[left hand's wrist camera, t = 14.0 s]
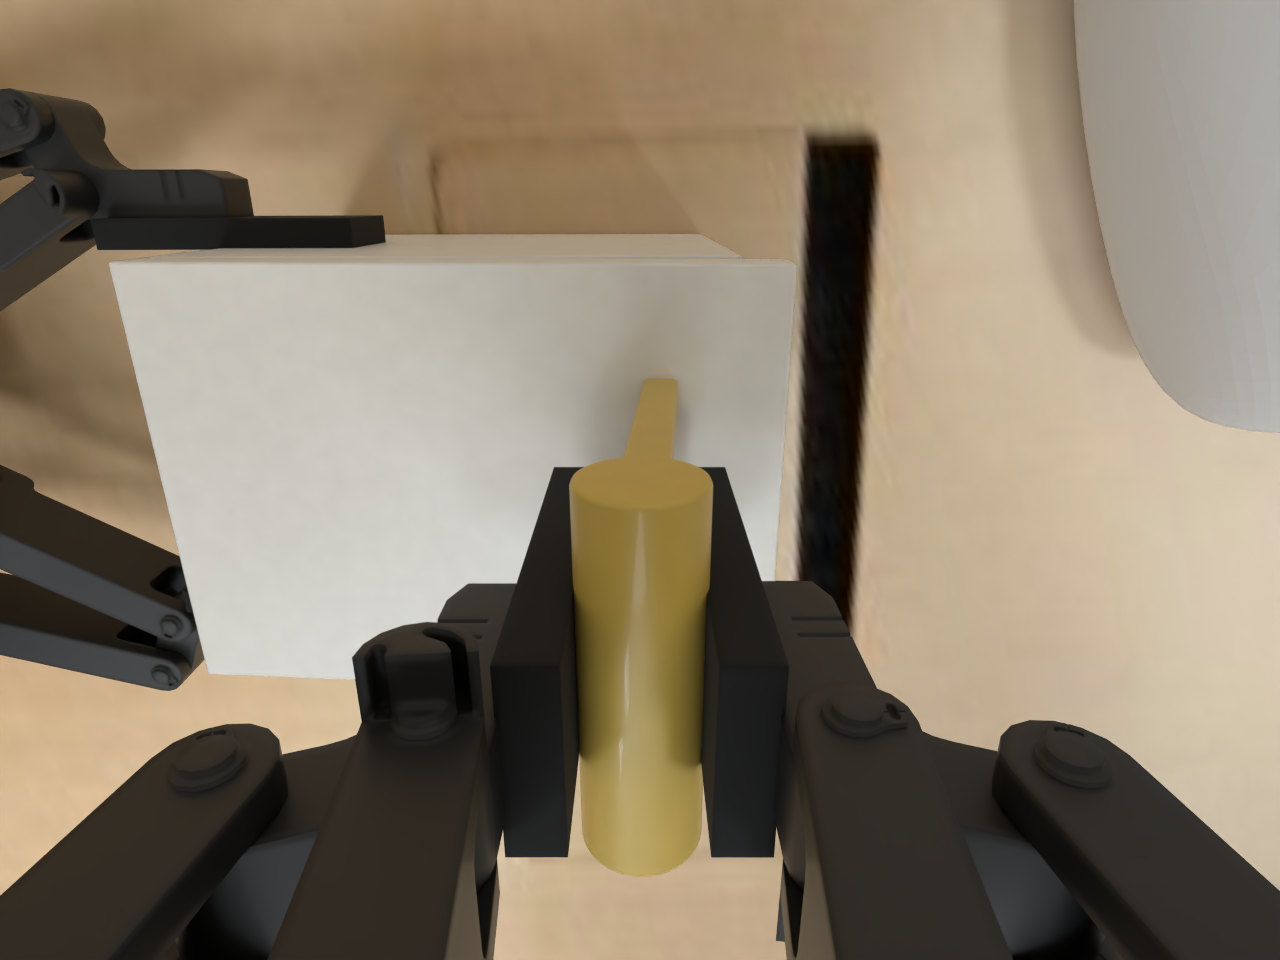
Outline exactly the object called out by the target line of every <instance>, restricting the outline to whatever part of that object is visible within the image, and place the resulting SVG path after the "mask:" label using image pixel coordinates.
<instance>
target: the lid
mask: <svg viewBox="0 0 1280 960" xmlns="http://www.w3.org/2000/svg"><path fill="white" fill-rule="evenodd" d="M109 268H110V272H111V276H112V280H113V284H114V288H115V292H116V297H117V301H118V305H119V309H120V313H121V317H122V321H123V325H124V330H125V334H126V338H127V342H128V346H129V350H130V354H131V358H132V362H133V367H134V371H135V375H136V379H137V383H138V387H139V391H140V395H141V399H142V404H143V408H144V412H145V416H146V420H147V424H148V428H149V432H150V437H151V441H152V445H153V449H154V453H155V457H156V461H157V465H158V469H159V474H160V478H161V482H162V486H163V490H164V494H165V498H166V502H167V506H168V511H169V515H170V519H171V523H172V527H173V531H174V535H175V539H176V544H177V548H178V552H179V556H180V560H181V564H182V568H183V572H184V576H185V581H186V585H187V589H188V593H189V597H190V601H191V605H192V609H193V613H194V618H195V622H196V626H197V630H198V634H199V638H200V642H201V646H202V651H203V655H204V659H205V663H206V667H207V671H208V673H209V674H223V675H249V676H275V677H300V678H326V679H352V680H355V674H354V668H353V661H352V657H353V656H354V654H355V653H356V652H357V651H358V649H359V648H360V647H361V646H362V645H363V644H364V643H366V642H367V641H369V640H370V639H372V638H374V637H375V636H377V635H378V634H380V633H382V632H385V631H388V630H391V629H394V628H397V627H400V626H403V625H409V624H416V623H422V622H437V619H438V617H439V615H440V613H441V611H442V609H443V607H444V605H445V603H446V601H447V599H449V598H450V597H451V596H453V595H454V594H455V593H456V592H458V591H459V590H460V589H462V588H463V587H464V586H465V585H467V584H468V583H517V580H518V577H519V574H520V571H521V568H522V565H523V562H524V559H525V556H526V552H527V549H528V546H529V543H530V540H531V537H532V534H533V531H534V528H535V525H536V521H537V518H538V515H539V512H540V509H541V506H542V503H543V500H544V497H545V494H546V490H547V487H548V484H549V481H550V478H551V475H552V472H553V469H554V467H583V468H582V469H580V470H578V471H577V472H576V473H575V474H574V475H573V477H572V479H571V481H570V484H569V492H570V519H571V545H572V571H573V594H574V621H575V648H576V675H577V702H578V728H579V756H580V783H581V809H582V832H583V837H584V841H585V843H586V846H587V847H588V849H589V851H590V852H591V854H592V855H593V856H594V857H595V858H596V859H597V860H598V861H599V862H600V863H601V864H602V865H604V866H606V867H607V868H609V869H611V870H613V871H615V872H618V873H621V874H624V875H629V876H637V877H647V876H655V875H659V874H663V873H666V872H669V871H671V870H673V869H675V868H677V867H678V866H680V865H681V864H682V863H684V862H685V861H686V860H687V859H688V858H689V857H690V856H691V854H692V853H693V851H694V850H695V848H696V847H697V845H698V842H699V840H700V836H701V823H702V794H703V775H702V766H701V754H702V726H703V697H704V669H705V640H706V612H707V593H708V590H709V587H710V564H711V535H712V506H713V482H712V480H711V477H710V476H709V474H708V473H707V472H706V471H704V470H703V469H701V468H699V467H725V468H726V472H727V475H728V478H729V481H730V484H731V487H732V490H733V493H734V496H735V499H736V503H737V506H738V509H739V512H740V515H741V518H742V521H743V524H744V527H745V530H746V534H747V537H748V540H749V543H750V546H751V549H752V552H753V555H754V558H755V561H756V565H757V568H758V571H759V574H760V577H761V580H762V581H775V577H776V562H777V548H778V533H779V519H780V505H781V490H782V476H783V461H784V447H785V432H786V418H787V404H788V389H789V375H790V360H791V346H792V331H793V317H794V303H795V288H796V274H797V266H796V264H794V263H793V262H791V261H790V260H788V259H590V258H232V257H146V258H137V259H128V260H118V261H112V262H110V263H109Z"/></svg>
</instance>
